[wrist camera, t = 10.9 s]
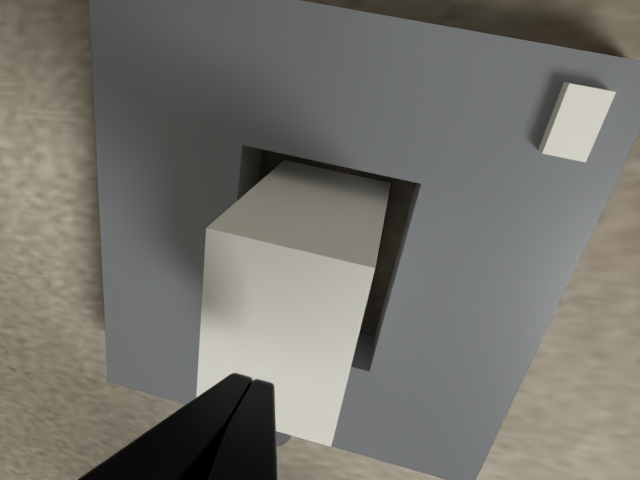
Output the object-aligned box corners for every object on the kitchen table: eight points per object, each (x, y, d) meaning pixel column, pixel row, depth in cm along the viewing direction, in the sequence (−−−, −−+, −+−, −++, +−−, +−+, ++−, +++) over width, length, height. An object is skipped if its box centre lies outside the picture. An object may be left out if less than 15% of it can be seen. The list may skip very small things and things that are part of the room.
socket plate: (466, 441, 17) (473, 497, 15) (137, 349, 19) (101, 388, 17) (630, 63, 12) (680, 66, 9) (131, -27, 13) (75, -41, 11)
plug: (350, 349, 17) (320, 492, 11) (262, 327, 17) (192, 454, 12) (390, 182, 14) (375, 268, 9) (284, 159, 14) (206, 228, 9)
